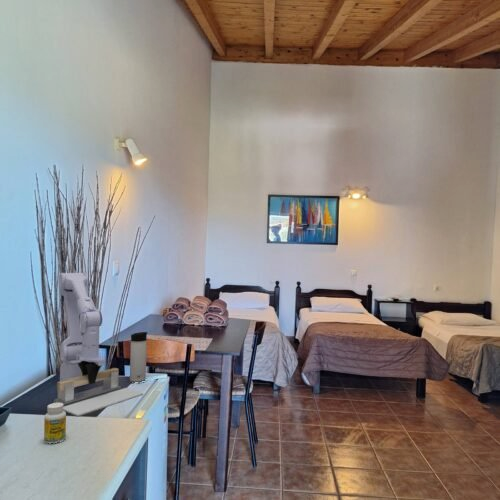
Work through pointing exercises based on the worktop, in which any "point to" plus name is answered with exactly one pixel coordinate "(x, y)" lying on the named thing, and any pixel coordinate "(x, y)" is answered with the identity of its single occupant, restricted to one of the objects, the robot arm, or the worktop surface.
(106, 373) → the rail
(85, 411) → the mat
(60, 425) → the supplement bottle
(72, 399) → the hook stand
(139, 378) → the travel mug
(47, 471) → the worktop surface
